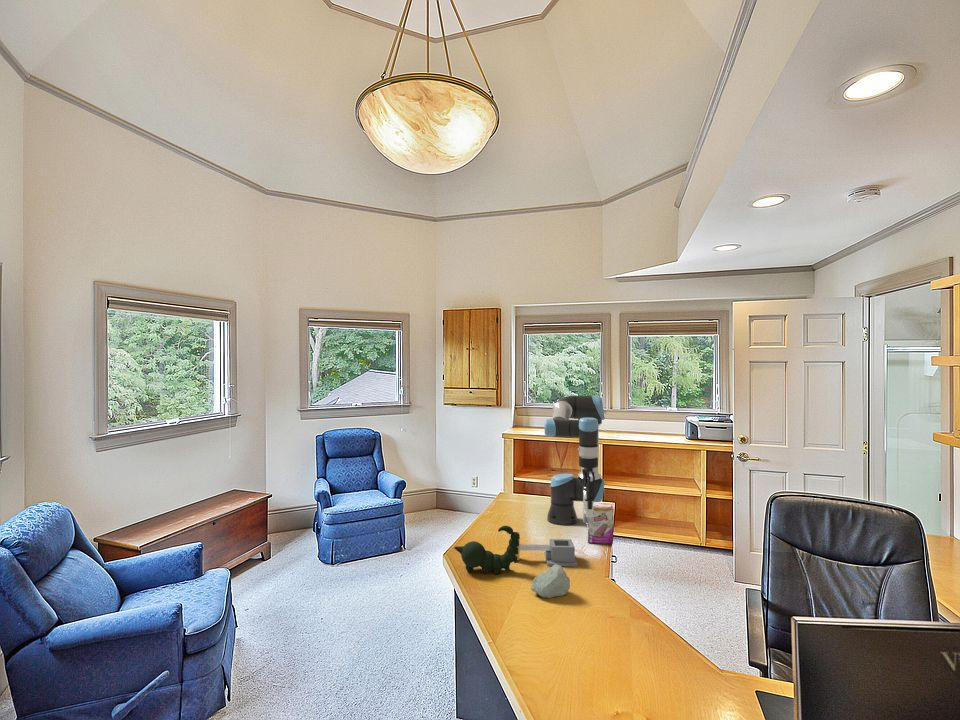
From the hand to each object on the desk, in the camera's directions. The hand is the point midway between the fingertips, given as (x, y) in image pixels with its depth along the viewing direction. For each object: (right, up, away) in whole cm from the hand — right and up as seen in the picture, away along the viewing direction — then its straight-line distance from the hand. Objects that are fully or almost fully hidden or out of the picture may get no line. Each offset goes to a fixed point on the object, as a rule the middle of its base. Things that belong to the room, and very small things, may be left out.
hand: (588, 514), depth 195 cm
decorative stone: (-19, -20, -25) cm, 37 cm away
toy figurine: (-41, -20, -7) cm, 46 cm away
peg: (0, -3, 0) cm, 3 cm away
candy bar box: (+11, -20, +24) cm, 33 cm away
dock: (-10, -20, +4) cm, 23 cm away
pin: (-23, -19, +4) cm, 30 cm away
